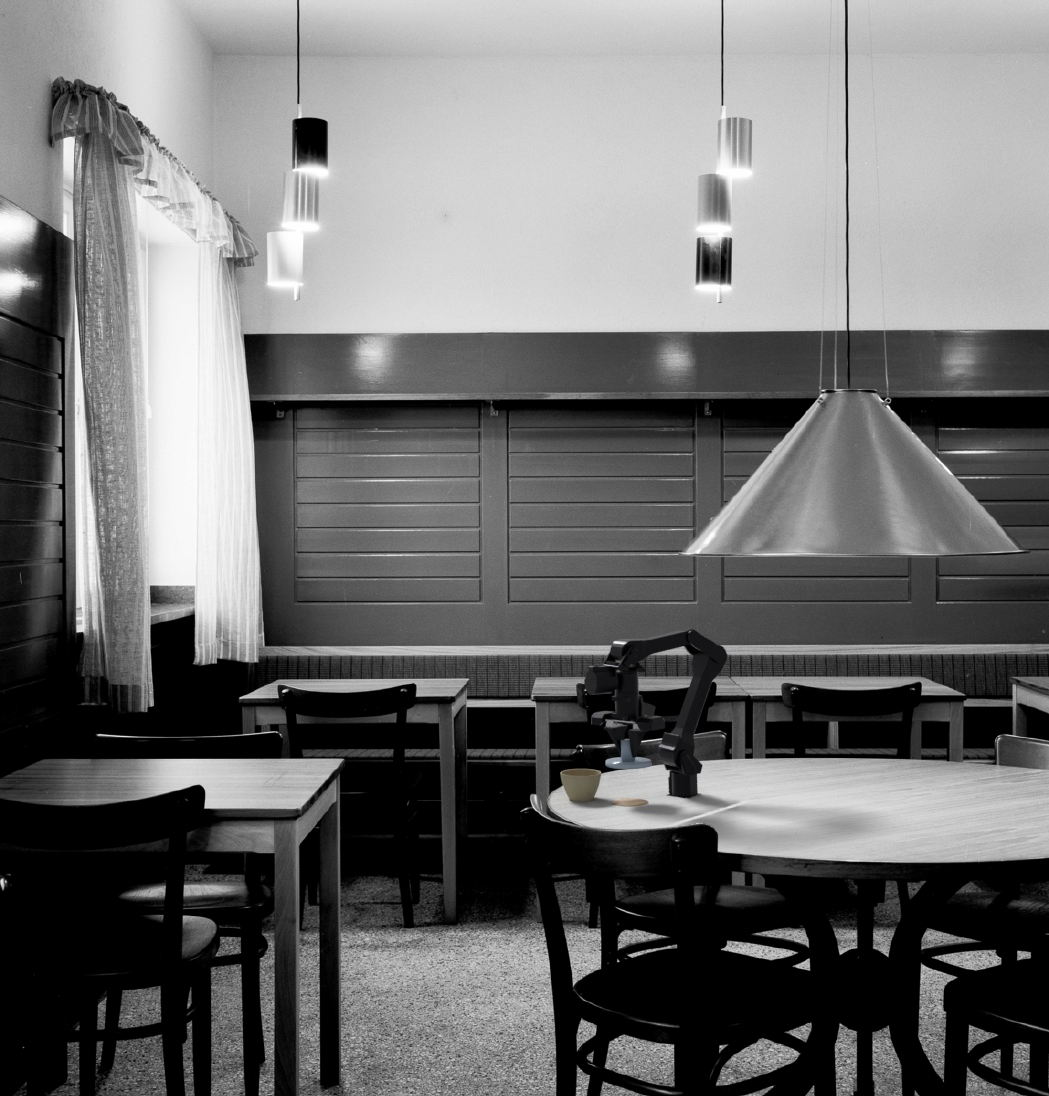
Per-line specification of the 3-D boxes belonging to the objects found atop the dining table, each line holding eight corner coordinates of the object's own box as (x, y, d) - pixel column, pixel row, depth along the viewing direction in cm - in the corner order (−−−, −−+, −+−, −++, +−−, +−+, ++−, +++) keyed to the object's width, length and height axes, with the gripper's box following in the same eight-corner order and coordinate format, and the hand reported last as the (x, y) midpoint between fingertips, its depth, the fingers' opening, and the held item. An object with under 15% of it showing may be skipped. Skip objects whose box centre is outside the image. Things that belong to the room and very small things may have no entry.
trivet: (656, 803, 276) (656, 801, 276) (632, 810, 269) (632, 807, 269) (627, 799, 282) (627, 796, 282) (603, 805, 275) (603, 802, 275)
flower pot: (586, 807, 274) (586, 777, 274) (553, 802, 280) (552, 773, 280) (609, 799, 282) (608, 770, 282) (576, 795, 288) (575, 767, 288)
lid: (660, 764, 276) (660, 739, 276) (632, 770, 268) (631, 745, 268) (625, 759, 283) (624, 735, 283) (596, 765, 275) (595, 740, 275)
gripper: (678, 690, 275) (679, 755, 275) (618, 686, 288) (619, 748, 288) (649, 695, 267) (651, 762, 267) (589, 690, 280) (590, 754, 280)
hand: (628, 756), depth 275 cm, fingers closed on lid, 3 cm apart
